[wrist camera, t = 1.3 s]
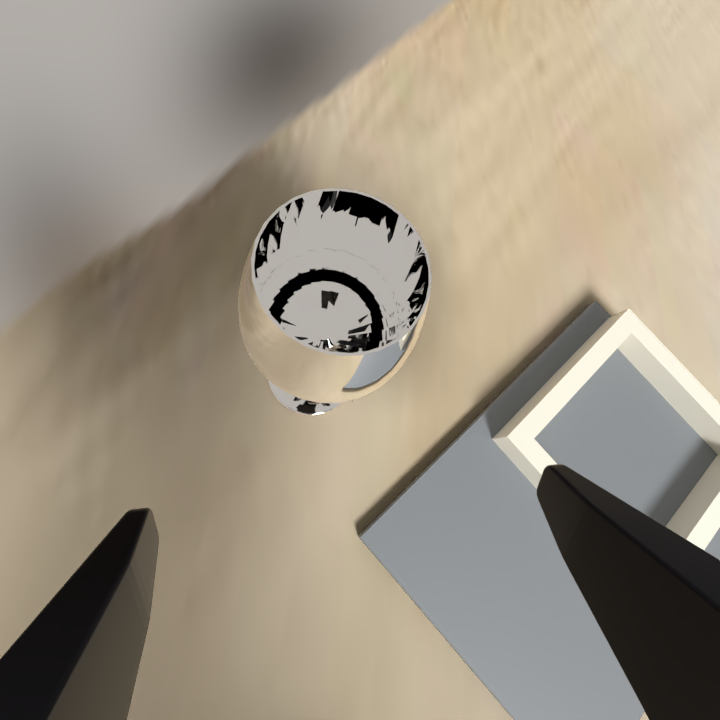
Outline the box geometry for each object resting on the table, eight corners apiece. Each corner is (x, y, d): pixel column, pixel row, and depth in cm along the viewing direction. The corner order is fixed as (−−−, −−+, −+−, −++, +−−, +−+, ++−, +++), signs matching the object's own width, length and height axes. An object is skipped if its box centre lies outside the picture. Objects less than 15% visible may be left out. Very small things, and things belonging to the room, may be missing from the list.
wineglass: (235, 344, 22) (189, 207, 11) (337, 303, 24) (391, 144, 12) (282, 448, 21) (287, 420, 10) (385, 399, 23) (491, 324, 12)
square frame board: (770, 496, 26) (814, 498, 23) (577, 794, 20) (611, 831, 18) (589, 304, 27) (615, 290, 25) (358, 535, 21) (366, 543, 19)
